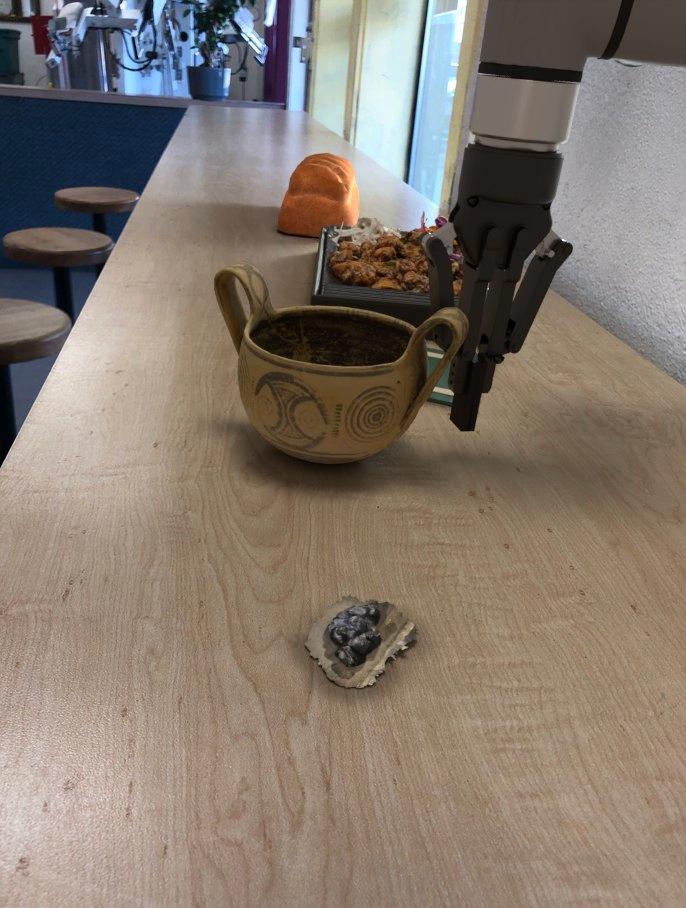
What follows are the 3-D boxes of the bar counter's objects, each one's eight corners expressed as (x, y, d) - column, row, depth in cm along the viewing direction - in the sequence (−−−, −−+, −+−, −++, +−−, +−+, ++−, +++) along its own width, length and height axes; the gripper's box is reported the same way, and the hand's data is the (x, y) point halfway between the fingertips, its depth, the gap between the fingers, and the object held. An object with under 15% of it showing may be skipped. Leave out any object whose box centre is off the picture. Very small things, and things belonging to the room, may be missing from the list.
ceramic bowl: (170, 451, 69) (167, 280, 62) (263, 390, 83) (269, 245, 75) (408, 522, 62) (437, 338, 54) (467, 443, 75) (497, 287, 68)
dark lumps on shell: (422, 617, 51) (426, 594, 50) (407, 702, 45) (412, 676, 44) (321, 597, 52) (324, 574, 52) (292, 677, 46) (294, 651, 45)
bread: (272, 234, 151) (276, 161, 145) (291, 207, 179) (295, 144, 172) (353, 242, 151) (360, 169, 144) (360, 213, 178) (366, 150, 171)
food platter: (318, 252, 141) (323, 191, 136) (455, 264, 141) (465, 203, 136) (308, 329, 102) (314, 248, 97) (496, 345, 102) (513, 265, 97)
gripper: (566, 141, 64) (507, 406, 76) (419, 132, 61) (382, 409, 73) (617, 154, 58) (544, 441, 70) (456, 144, 55) (409, 446, 67)
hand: (461, 424), depth 72 cm, fingers closed
